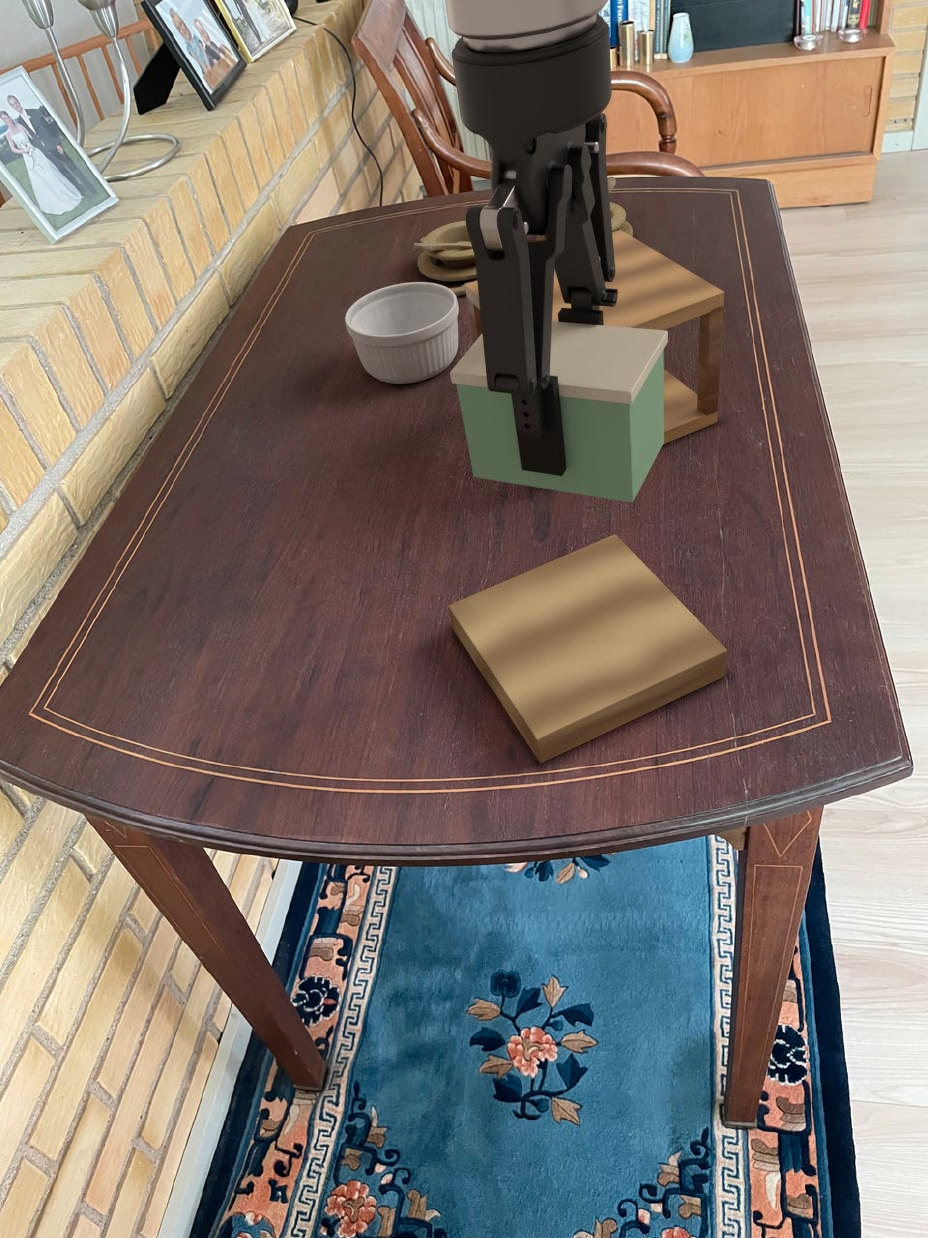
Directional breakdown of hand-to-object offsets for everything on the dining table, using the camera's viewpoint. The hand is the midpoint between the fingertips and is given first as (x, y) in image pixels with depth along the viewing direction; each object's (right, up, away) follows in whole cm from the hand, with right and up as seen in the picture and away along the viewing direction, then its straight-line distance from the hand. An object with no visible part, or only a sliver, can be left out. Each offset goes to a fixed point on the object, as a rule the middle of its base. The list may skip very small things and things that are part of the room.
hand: (566, 434), depth 59 cm
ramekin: (-13, +19, +52) cm, 57 cm away
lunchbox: (0, -1, +1) cm, 2 cm away
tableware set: (+2, +39, +68) cm, 78 cm away
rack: (+7, +10, +38) cm, 40 cm away
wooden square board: (+3, -15, +15) cm, 21 cm away
